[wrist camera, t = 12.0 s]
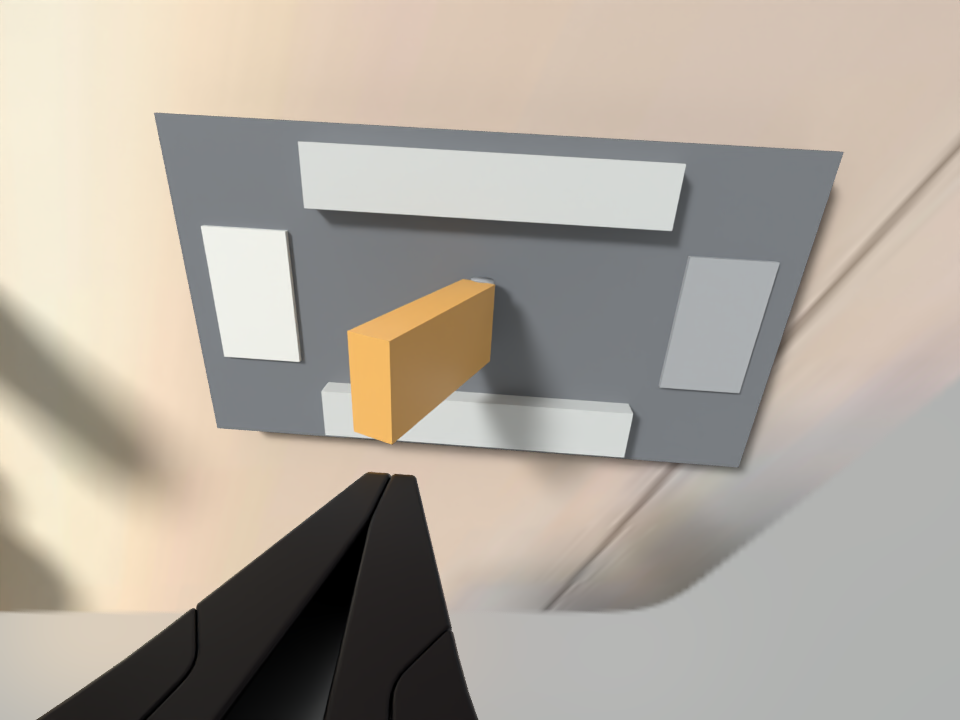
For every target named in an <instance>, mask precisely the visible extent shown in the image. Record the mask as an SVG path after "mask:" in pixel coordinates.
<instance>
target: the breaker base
mask: <svg viewBox="0 0 960 720" xmlns="http://www.w3.org/2000/svg"><path fill="white" fill-rule="evenodd" d="M154 115H155V120H156V125H157V130H158V135H159V140H160V145H161V150H162V155H163V160H164V164H165V169H166V174H167V179H168V184H169V189H170V194H171V199H172V204H173V209H174V214H175V219H176V224H177V229H178V234H179V239H180V244H181V249H182V254H183V259H184V264H185V269H186V274H187V279H188V284H189V289H190V294H191V299H192V304H193V309H194V314H195V319H196V324H197V329H198V334H199V339H200V343H201V348H202V353H203V358H204V363H205V368H206V373H207V378H208V383H209V388H210V393H211V398H212V403H213V408H214V413H215V418H216V423H217V428H224V429H238V430H251V431H264V432H277V433H291V434H304V435H317V436H330V437H344V438H357V439H370V440H377V439H374V438H371V437H368V436H365V435H362V434H359V433H356V432H354V428H353V412H352V397H351V382H350V366H349V351H348V335H347V331H348V330H351V329H353V328H355V327H357V326H359V325H362V324H364V323H366V322H368V321H371V320H373V319H375V318H377V317H380V316H382V315H384V314H386V313H388V312H391V311H393V310H395V309H397V308H400V307H402V306H404V305H406V304H408V303H411V302H413V301H415V300H417V299H420V298H422V297H424V296H426V295H428V294H431V293H433V292H435V291H437V290H440V289H442V288H444V287H446V286H448V285H451V284H453V283H455V282H457V281H460V280H462V279H467V280H471V278H474V277H488V278H492V279H494V284H495V295H494V310H493V325H492V340H491V355H490V362H488V363H487V364H486V365H485V366H484V367H483V368H481V369H480V370H479V371H478V372H477V373H476V374H474V375H473V376H472V377H471V378H470V379H469V380H467V381H466V382H465V383H464V384H463V385H462V386H460V387H459V388H458V389H457V390H456V391H454V392H453V393H452V394H451V395H450V396H449V397H447V398H446V399H445V400H444V401H443V402H442V403H440V404H439V405H438V406H437V407H436V408H435V409H433V410H432V411H431V412H430V413H429V414H427V415H426V416H425V417H424V418H423V419H422V420H420V421H419V422H418V423H417V424H416V425H415V426H413V427H412V428H411V429H410V430H409V431H408V432H406V433H405V434H404V435H403V436H402V437H401V438H399V439H398V440H397V442H410V443H423V444H436V445H450V446H463V447H476V448H489V449H503V450H516V451H529V452H542V453H556V454H569V455H582V456H595V457H609V458H622V459H635V460H648V461H662V462H675V463H688V464H701V465H715V466H728V467H739V464H740V461H741V458H742V455H743V452H744V449H745V446H746V443H747V440H748V437H749V434H750V431H751V428H752V425H753V422H754V419H755V416H756V413H757V410H758V407H759V404H760V401H761V398H762V395H763V392H764V389H765V386H766V383H767V380H768V377H769V374H770V371H771V368H772V365H773V362H774V359H775V356H776V353H777V350H778V347H779V344H780V341H781V338H782V335H783V332H784V329H785V326H786V323H787V320H788V317H789V314H790V311H791V308H792V305H793V302H794V299H795V296H796V293H797V290H798V287H799V284H800V281H801V278H802V275H803V272H804V269H805V266H806V263H807V260H808V257H809V254H810V251H811V248H812V245H813V242H814V239H815V236H816V233H817V230H818V227H819V224H820V221H821V218H822V215H823V212H824V209H825V206H826V203H827V200H828V197H829V194H830V191H831V188H832V185H833V182H834V179H835V176H836V173H837V170H838V167H839V164H840V161H841V158H842V155H843V152H837V151H820V150H802V149H784V148H767V147H749V146H732V145H714V144H696V143H679V142H661V141H644V140H626V139H608V138H591V137H573V136H556V135H538V134H520V133H503V132H485V131H467V130H450V129H432V128H415V127H397V126H379V125H362V124H344V123H327V122H309V121H291V120H274V119H256V118H239V117H221V116H203V115H186V114H168V113H154Z"/></svg>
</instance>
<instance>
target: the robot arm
mask: <svg viewBox="0 0 960 720" xmlns="http://www.w3.org/2000/svg"><path fill="white" fill-rule="evenodd" d="M451 628H452V627H451V623H450V619H449V614H448V610H447V606H446V602H445V598H444V593H443V589H442V585H441V581H440V576H439V572H438V568H437V564H436V560H435V555H434V551H433V547H432V543H431V539H430V534H429V530H428V526H427V522H426V517H425V513H424V509H423V505H422V501H421V496H420V492H419V488H418V484H417V480H416V477H415V476H413V475H402V474H394V475H392V476H391V475H390V474H388V473H376V472H368V473H366V474H364V475H363V476H362V477H360V478H359V479H358V480H357V481H355V482H354V483H353V484H351V485H350V486H349V487H348V488H346V489H345V490H344V491H342V492H341V493H340V494H338V495H337V496H336V497H335V498H333V499H332V500H331V501H329V502H328V503H327V504H326V505H324V506H323V507H322V508H320V509H319V510H318V511H317V512H315V513H314V514H313V515H311V516H310V517H309V518H308V519H306V520H305V521H304V522H302V523H301V524H300V525H299V526H297V527H296V528H295V529H293V530H292V531H291V532H290V533H288V534H287V535H286V536H284V537H283V538H282V539H281V540H279V541H278V542H277V543H275V544H274V545H273V546H272V547H270V548H269V549H268V550H266V551H265V552H264V553H263V554H261V555H260V556H259V557H257V558H256V559H255V560H254V561H252V562H251V563H250V564H248V565H247V566H246V567H244V568H243V569H242V570H241V571H239V572H238V573H237V574H235V575H234V576H233V577H232V578H230V579H229V580H228V581H226V582H225V583H224V584H223V585H221V586H220V587H219V588H217V589H216V590H215V591H214V592H212V593H211V594H210V595H208V596H207V597H206V598H205V599H203V600H202V601H201V602H199V603H198V604H197V607H196V609H194V608H192V609H190V610H189V611H188V612H186V613H185V614H184V615H182V616H181V617H180V618H179V619H177V620H176V621H175V622H173V623H172V624H171V625H169V626H168V627H167V628H166V629H164V630H163V631H162V632H160V633H159V634H158V635H156V636H155V637H154V638H152V639H151V640H149V641H148V642H147V643H145V644H144V645H143V646H142V647H140V648H139V649H137V650H136V651H135V652H133V653H132V654H131V655H129V656H128V657H127V658H126V659H124V660H123V661H121V662H120V663H118V664H117V665H116V666H114V667H113V668H111V669H110V670H108V671H107V672H105V673H104V674H103V675H101V676H100V677H98V678H97V679H95V680H94V681H92V682H91V683H90V684H88V685H87V686H86V687H84V688H82V689H81V690H80V691H78V692H77V693H75V694H74V695H72V696H71V697H70V698H68V699H66V700H65V701H64V702H62V703H61V704H59V705H57V706H56V707H55V708H53V709H52V710H50V711H49V712H47V713H46V714H44V715H43V716H41V717H40V718H38V719H37V720H478V718H477V715H476V712H475V709H474V706H473V703H472V700H471V698H470V695H469V692H468V688H467V684H466V681H465V677H464V674H463V670H462V666H461V663H460V659H459V656H458V651H457V647H456V643H455V639H454V634H453V632H452V631H451V630H452V629H451Z"/></svg>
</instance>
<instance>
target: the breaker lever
mask: <svg viewBox="0 0 960 720" xmlns="http://www.w3.org/2000/svg"><path fill="white" fill-rule="evenodd" d="M494 295H495V284H494V279H492V278H488V277H474V278H471V280H467V279H462V280H460V281H457V282H455V283H453V284H451V285H448V286H446V287H444V288H442V289H440V290H437V291H435V292H433V293H431V294H428V295H426V296H424V297H422V298H420V299H417V300H415V301H413V302H411V303H408V304H406V305H404V306H402V307H400V308H397V309H395V310H393V311H391V312H388V313H386V314H384V315H382V316H380V317H377V318H375V319H373V320H371V321H368V322H366V323H364V324H362V325H359V326H357V327H355V328H353V329H351V330H348V331H347V335H348V351H349V366H350V382H351V397H352V412H353V428H354V432H356V433H359V434H362V435H365V436H368V437H371V438H374V439H377V440H380V441H383V442H386V443H389V444H393V443H395V442H396V441H397V440H398V439H399V438H401V437H402V436H403V435H404V434H405V433H406V432H408V431H409V430H410V429H411V428H412V427H413V426H415V425H416V424H417V423H418V422H419V421H420V420H422V419H423V418H424V417H425V416H426V415H427V414H429V413H430V412H431V411H432V410H433V409H435V408H436V407H437V406H438V405H439V404H440V403H442V402H443V401H444V400H445V399H446V398H447V397H449V396H450V395H451V394H452V393H453V392H454V391H456V390H457V389H458V388H459V387H460V386H462V385H463V384H464V383H465V382H466V381H467V380H469V379H470V378H471V377H472V376H473V375H474V374H476V373H477V372H478V371H479V370H480V369H481V368H483V367H484V366H485V365H486V364H487V363H488V362H490V355H491V340H492V325H493V310H494Z"/></svg>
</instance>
